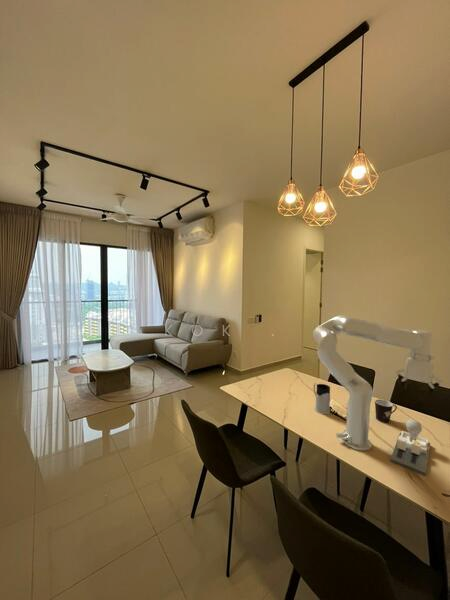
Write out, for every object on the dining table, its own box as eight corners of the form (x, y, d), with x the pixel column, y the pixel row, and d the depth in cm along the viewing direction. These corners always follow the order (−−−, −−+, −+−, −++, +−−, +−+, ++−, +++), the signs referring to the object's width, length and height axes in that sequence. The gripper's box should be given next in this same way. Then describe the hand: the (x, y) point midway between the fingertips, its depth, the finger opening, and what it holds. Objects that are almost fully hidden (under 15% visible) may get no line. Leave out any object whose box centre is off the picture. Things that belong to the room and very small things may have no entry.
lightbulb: (405, 436, 124) (406, 415, 124) (421, 442, 120) (422, 420, 120) (404, 442, 120) (405, 420, 119) (420, 448, 116) (422, 425, 115)
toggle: (405, 450, 113) (405, 442, 113) (397, 447, 115) (397, 439, 115) (406, 446, 116) (407, 438, 116) (398, 443, 118) (399, 435, 118)
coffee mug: (375, 422, 140) (376, 404, 139) (372, 414, 148) (373, 398, 147) (400, 426, 136) (401, 408, 135) (395, 418, 144) (396, 401, 143)
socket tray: (426, 453, 113) (426, 450, 113) (398, 443, 120) (399, 440, 119) (427, 442, 120) (428, 439, 120) (402, 433, 127) (402, 430, 127)
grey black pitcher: (319, 415, 146) (321, 390, 145) (307, 403, 160) (308, 380, 159) (333, 413, 148) (334, 388, 147) (319, 402, 162) (320, 379, 161)
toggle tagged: (419, 455, 111) (419, 445, 110) (410, 451, 113) (411, 442, 112) (420, 450, 114) (420, 441, 113) (412, 447, 116) (412, 438, 115)
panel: (425, 476, 101) (425, 472, 101) (390, 461, 109) (390, 458, 109) (430, 445, 120) (430, 442, 120) (400, 434, 128) (400, 432, 128)
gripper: (444, 359, 114) (441, 395, 115) (398, 351, 125) (396, 384, 127) (443, 362, 108) (440, 401, 110) (395, 354, 120) (393, 389, 121)
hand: (416, 392), depth 118 cm, fingers open, 9 cm apart
